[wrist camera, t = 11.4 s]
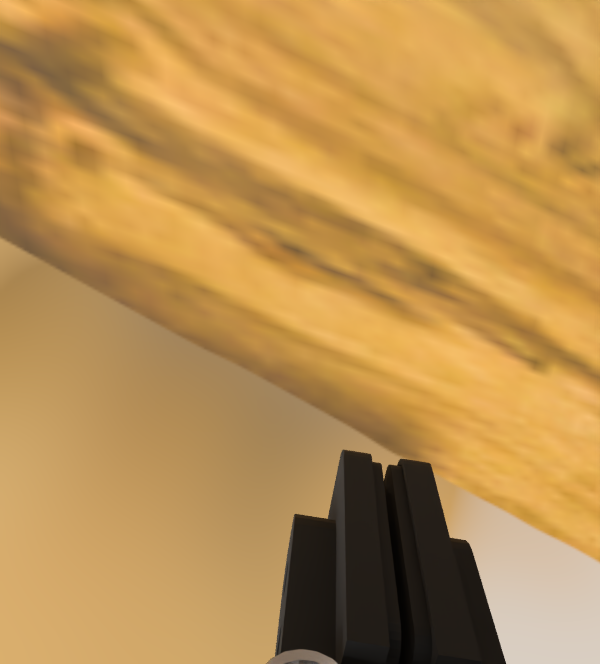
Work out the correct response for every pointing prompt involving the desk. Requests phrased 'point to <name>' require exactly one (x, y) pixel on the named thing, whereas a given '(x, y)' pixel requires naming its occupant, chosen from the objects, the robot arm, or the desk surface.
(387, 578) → the robot arm
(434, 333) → the desk surface
